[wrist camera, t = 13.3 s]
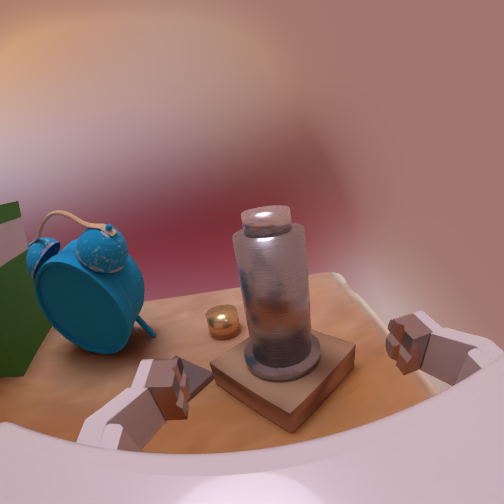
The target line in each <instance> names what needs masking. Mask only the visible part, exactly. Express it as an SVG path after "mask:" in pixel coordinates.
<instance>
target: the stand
mask: <svg viewBox="0 0 504 504" xmlns="http://www.w3.org/2000/svg"><path fill="white" fill-rule="evenodd" d="M311 333H312V334H313V335H315V336H316V337H317V339H318V340H319V343H320V361H319V363H318V365H317V366H316V368H315V369H314V370H313V371H312V372H311V373H309V374H308V375H306V376H304V377H302V378H300V379H297V380H294V381H290V382H282V383H275V382H268V381H264V380H261V379H259V378H257V377H255V376H254V375H253V374H252V373H251V372H250V371H249V370H248V368H247V366H246V361H245V357H244V351H245V347H246V345H247V344H248V342H249V341H250V337H249V338H247V339H246V340H244V341H243V342H241V343H240V344H238V345H237V346H235V347H233V348H232V349H230V350H229V351H227V352H226V353H224V354H222V355H221V356H219V357H218V358H216V359H214V360H213V361H211V362H210V366H211V369H212V372H213V375H214V378H215V381H216V384H218V385H219V386H220V387H222V388H223V389H224V390H226V391H227V392H228V393H230V394H231V395H233V396H234V397H235V398H237V399H238V400H240V401H241V402H243V403H244V404H246V405H247V406H249V407H250V408H252V409H253V410H255V411H256V412H258V413H259V414H261V415H262V416H264V417H265V418H267V419H268V420H270V421H272V422H273V423H275V424H276V425H278V426H280V427H281V428H283V429H285V430H286V431H288V432H290V433H292V432H294V431H295V430H296V429H297V428H298V427H299V426H300V425H301V424H302V423H303V422H304V421H305V420H306V419H307V418H308V417H309V416H310V415H311V414H312V413H313V412H314V411H315V410H316V409H317V408H318V406H319V405H320V404H321V403H322V402H323V401H324V400H325V399H326V398H327V397H328V396H329V395H330V393H331V392H332V391H333V390H334V389H335V388H336V387H337V386H338V384H339V383H340V382H341V381H342V380H343V379H344V377H345V376H346V375H347V374H348V373H349V371H350V370H351V369H352V368H353V367H354V358H355V347H356V344H353V343H350V342H347V341H344V340H341V339H338V338H335V337H332V336H329V335H326V334H323V333H321V332H318V331H315V330H312V329H311Z"/></svg>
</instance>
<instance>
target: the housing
mask: <svg viewBox="0 0 504 504" xmlns="http://www.w3.org/2000/svg"><path fill="white" fill-rule="evenodd" d="M241 217H242V224H243V229H242V230H239V231H237V232H236V233H234V234H233V236H232V239H233V244H234V251H235V257H236V262H237V268H238V274H239V280H240V286H241V291H242V297H243V302H244V308H245V314H246V319H247V325H248V330H249V336H250V341H249V342H248V344H247V345H246V347H245V351H244V357H245V361H246V366H247V368H248V370H249V371H250V372H251V373H252V374H253V375H254V376H255V377H257V378H259V379H261V380H264V381H268V382H275V383H282V382H290V381H294V380H297V379H300V378H302V377H304V376H306V375H308V374H309V373H311V372H312V371H313V370H314V369H315V368H316V366H317V365H318V363H319V361H320V343H319V340H318V339H317V337H316V336H315V335H313V334H312V333H311V319H310V299H309V283H308V268H307V256H306V244H305V233H304V227H303V226H302V225H300V224H297V223H291V215H290V207H288V206H266V207H258V208H254V209H250V210H247V211H244V212H242V213H241Z"/></svg>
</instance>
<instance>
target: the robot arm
mask: <svg viewBox="0 0 504 504" xmlns="http://www.w3.org/2000/svg"><path fill="white" fill-rule="evenodd" d="M388 330H389V331H390V333H389V335H388V336H387V338H386V351H387V353H388V355H389V356H390V358H391V359H393V360H396V361H397V363H396V366H397V367H398V368H399V370H400V371H401V372H402V374H403V375H406V374H409V373H411V372H414V371H417V370H419V369H421V370H422V371H424V372H426V373H428V374H430V375H432V376H434V377H436V378H438V379H440V380H442V381H444V382H446V383H448V384H450V385H452V387H450V388H448V389H446V390H444V391H442V392H440V393H439V394H437V395H435V396H433V397H431V398H429V399H427V400H424V401H422V402H420V403H418V404H416V405H414V406H411V407H409V408H407V409H405V410H402V411H400V412H397V413H395V414H393V415H390V416H387V417H385V418H382V419H380V420H377V421H374V422H371V423H368V424H365V425H362V426H359V427H356V428H353V429H350V430H347V431H343V432H340V433H336V434H333V435H329V436H325V437H321V438H317V439H313V440H308V441H304V442H299V443H294V444H289V445H283V446H278V447H271V448H265V449H257V450H249V451H240V452H228V453H212V454H160V453H144V452H141V450H142V449H143V448H144V447H145V446H146V445H147V443H148V442H149V441H150V440H151V439H152V437H153V436H154V435H155V434H156V433H157V431H158V430H159V429H160V428H161V427H162V425H163V424H164V423H165V422H166V421H165V420H186V419H187V418H188V409H189V406H188V403H187V400H188V399H189V398H190V384H189V379H188V376H187V374H185V373H184V372H183V368H184V365H183V363H182V360H181V359H180V358H169V359H143V360H142V361H141V362H140V364H139V367H138V369H137V372H136V375H135V377H134V380H133V383H132V386H131V388H126V389H125V390H124V391H123V392H121V393H120V394H119V395H117V396H116V397H115V398H113V399H112V400H111V401H109V402H108V403H107V404H106V405H104V406H103V407H102V408H100V409H99V410H98V411H96V412H95V413H94V414H92V415H91V416H90V417H88V418H87V419H86V420H85V422H84V424H83V427H82V429H81V432H80V434H79V437H78V439H77V442H72V441H68V440H64V439H60V438H56V437H52V436H49V435H45V434H42V433H39V432H35V431H32V430H29V429H26V428H24V427H21V426H19V425H16V424H13V423H10V422H3V423H0V504H504V351H502V350H501V349H500V348H499V347H498V346H497V345H495V344H494V343H493V342H492V341H491V340H490V339H487V338H483V337H479V336H475V335H472V334H468V333H464V332H460V331H457V330H453V329H449V328H442V327H440V326H439V325H438V324H437V323H436V322H435V321H434V320H433V319H431V318H430V317H429V316H428V315H427V314H426V313H424V312H423V311H420V310H419V311H416V312H413V313H411V314H409V315H405V316H402V317H399V318H396V319H393V320H390V322H389V325H388Z"/></svg>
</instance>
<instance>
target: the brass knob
mask: <svg viewBox="0 0 504 504" xmlns="http://www.w3.org/2000/svg"><path fill="white" fill-rule="evenodd" d="M206 318H207V322H208V326H209V330H210V334H211V336H212V337H213V338H214V339H217V340H228V339H231V338H233V337H235V336H237V335H238V334H239V332H240V324H239V319H238V314H237V309H236V308H235V307H234V306H232V305H219V306H215V307H213V308H211V309H210V310H208V311H207V313H206Z"/></svg>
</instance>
